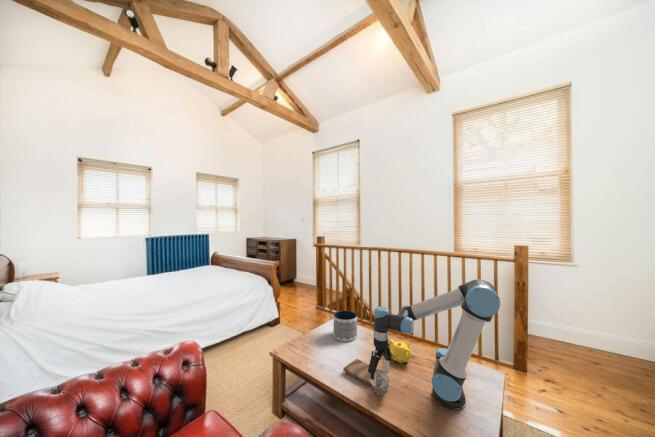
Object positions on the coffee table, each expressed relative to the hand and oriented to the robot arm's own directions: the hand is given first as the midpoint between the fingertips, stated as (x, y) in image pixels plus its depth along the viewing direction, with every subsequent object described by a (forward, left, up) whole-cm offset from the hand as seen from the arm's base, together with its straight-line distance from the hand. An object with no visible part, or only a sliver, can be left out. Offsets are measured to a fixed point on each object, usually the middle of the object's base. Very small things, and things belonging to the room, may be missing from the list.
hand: (380, 378), depth 124 cm
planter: (+51, -34, -7) cm, 61 cm away
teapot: (+6, -34, -7) cm, 35 cm away
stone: (0, 0, -7) cm, 7 cm away
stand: (+15, -5, -7) cm, 17 cm away
